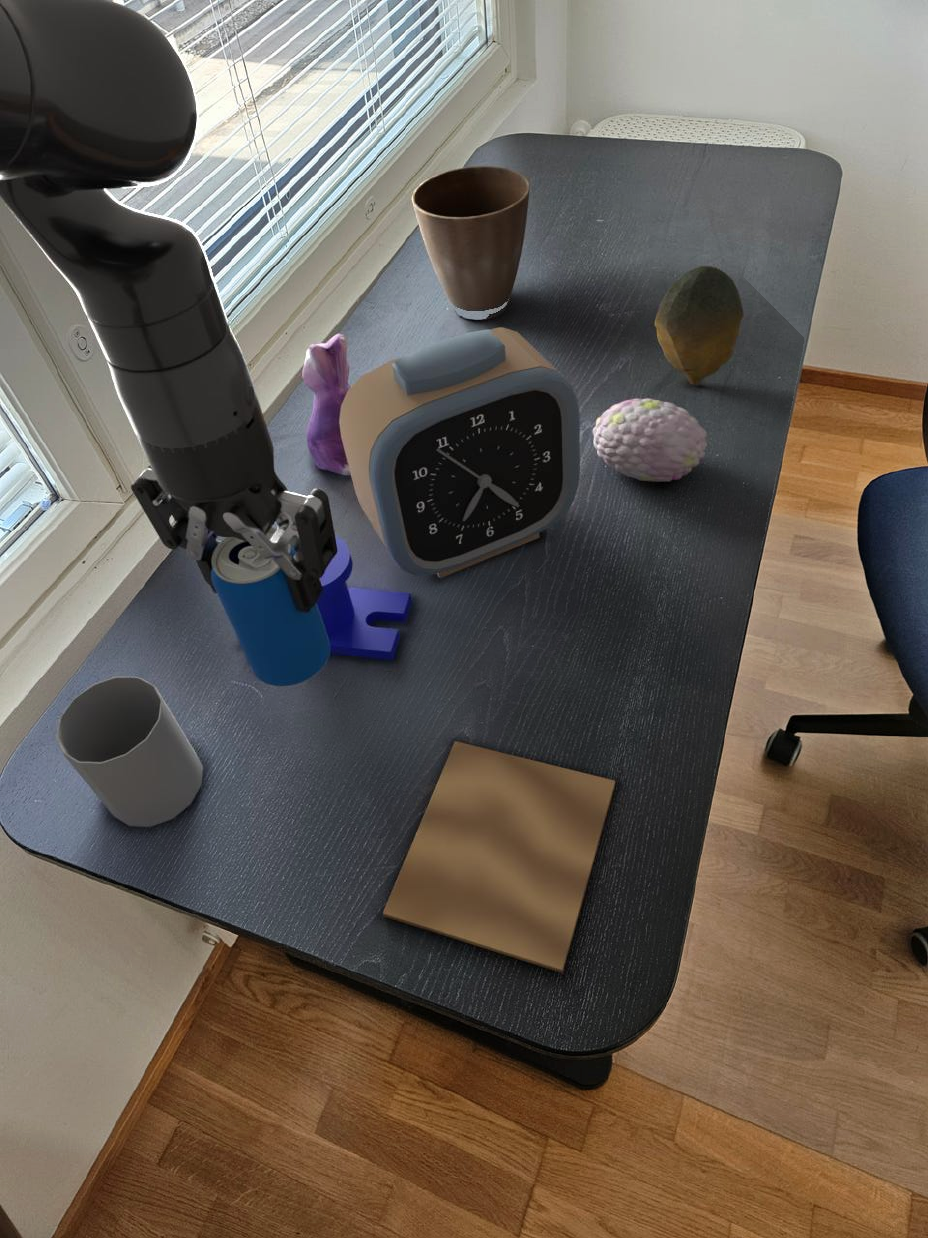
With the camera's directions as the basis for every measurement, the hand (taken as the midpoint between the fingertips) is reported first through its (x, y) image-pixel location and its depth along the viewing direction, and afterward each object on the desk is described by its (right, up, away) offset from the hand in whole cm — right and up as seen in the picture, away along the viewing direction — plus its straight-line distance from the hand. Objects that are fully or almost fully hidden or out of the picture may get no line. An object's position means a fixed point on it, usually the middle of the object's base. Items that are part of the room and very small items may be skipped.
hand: (267, 594), depth 66 cm
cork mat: (+18, -20, +5) cm, 27 cm away
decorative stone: (+42, +26, +42) cm, 65 cm away
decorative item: (+35, +15, +33) cm, 50 cm away
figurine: (0, +18, +40) cm, 44 cm away
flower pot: (+17, +42, +59) cm, 74 cm away
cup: (-12, -16, +12) cm, 24 cm away
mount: (+1, -2, +22) cm, 23 cm away
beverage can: (+1, -5, +6) cm, 8 cm away
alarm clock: (+16, +7, +28) cm, 33 cm away
